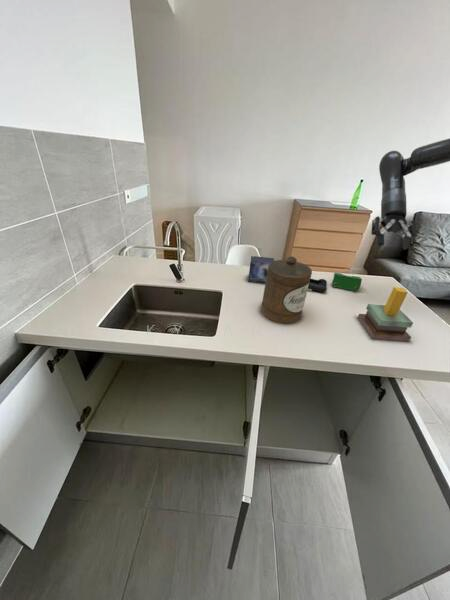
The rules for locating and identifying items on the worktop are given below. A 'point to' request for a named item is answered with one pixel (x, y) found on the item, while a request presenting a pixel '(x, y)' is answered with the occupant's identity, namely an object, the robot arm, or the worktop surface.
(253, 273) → the small box
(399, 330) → the two-tone stepped base
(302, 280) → the wooden container
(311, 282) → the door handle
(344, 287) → the green block
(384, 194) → the robot arm
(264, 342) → the worktop surface
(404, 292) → the bar
